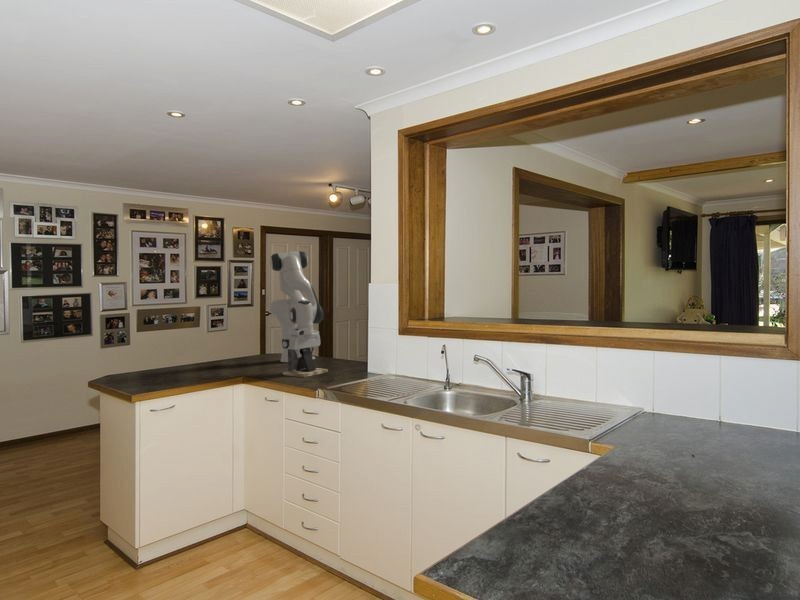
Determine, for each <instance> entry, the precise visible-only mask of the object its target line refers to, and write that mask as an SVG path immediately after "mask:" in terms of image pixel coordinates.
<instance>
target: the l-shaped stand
mask: <svg viewBox="0 0 800 600" xmlns="http://www.w3.org/2000/svg"><path fill="white" fill-rule="evenodd" d="M298 359H299V358H298V357H297V353H296V352H295V350H291V349H288V362H287V368H288V369H287V370H286V371H282V375H283V376H290V377H299V378H308V377H311V376H316V375H321V374H326V373H328V372H329V369H328V368H320V367H319V368H318V367H316V370H313V371H310V372H303V371H296V368H297V364H298ZM325 372H326V373H325Z"/></svg>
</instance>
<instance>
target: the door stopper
mask: <svg viewBox="0 0 800 600" xmlns="http://www.w3.org/2000/svg"><path fill="white" fill-rule="evenodd" d="M311 350H312V349H311V347H310V348H304V349H300V351H299V352H300V354H301V356H302V357H300V358H299V359H298V364H297V368H296V371H303V372H310V371H313V370H316V368H317V367H316V364H315V362H314V361H315V360H314V359H313V358H312V357H313V355H311Z"/></svg>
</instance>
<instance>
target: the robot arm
mask: <svg viewBox="0 0 800 600" xmlns="http://www.w3.org/2000/svg"><path fill="white" fill-rule="evenodd" d="M308 263H309V257H308V255H307V253H306V252H304V251H300V250H298V251H287V252H286V251H284V252H279V253H273V254H272V255H271V256H270V259H269V264H270V267H271V269H272V271H275V272H278V273H279V275H278V277H279V289H280V291H281V292H282V293H283V294H284V295H287V296H288V297H289V298H283V299H282V298H280V299H276V300H272V301H271V302H270V305H269V312H270V314H271V315H272V316H273V317H274V318H275V319H277V321H278V322H279V324H280V327H281V334H282V339H281V346H282V348H281V349H282V350H281V358H280V362H281V363H288V349H291V350H295V352H296V353H297V357H298V358H300V357H302V356H301V354H300V352H299V351H300V349H304V348H310V349H311V355H312V358H313V360H315V359H316V357H315V356H314V355H315V351H316V347H320V346H321V336H320V331H319V330H318V329H314V324H315V325H317V324H319V323H320V322H321V321H323V319H324V310H323V308H322V306H321V305H320V302H319V300H318V297H317V294H316V292H315V291H316V290H315V289H314V286H313V284H312V282H311V281H310V280H309V279H307V278H306V276H305V275H304V269H306V268H307V266H308ZM302 293H304V294H305V295H306V297H307V298H306V297H305V296H303V294H302Z"/></svg>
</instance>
